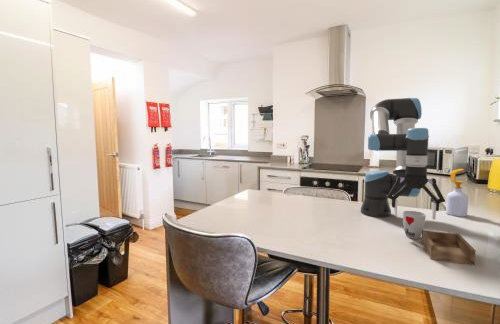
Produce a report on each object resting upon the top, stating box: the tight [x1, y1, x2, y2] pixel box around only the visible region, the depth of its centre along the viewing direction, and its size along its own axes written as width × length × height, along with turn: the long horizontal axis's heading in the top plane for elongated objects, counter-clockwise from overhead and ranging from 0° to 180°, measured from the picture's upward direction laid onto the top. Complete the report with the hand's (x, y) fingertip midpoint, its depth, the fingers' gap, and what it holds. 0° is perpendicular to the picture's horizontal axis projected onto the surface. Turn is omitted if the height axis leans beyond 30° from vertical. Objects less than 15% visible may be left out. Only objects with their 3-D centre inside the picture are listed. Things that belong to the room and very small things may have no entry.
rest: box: [421, 229, 476, 266], centre depth 97 cm, size 12×16×5 cm
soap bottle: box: [445, 168, 469, 217], centre depth 144 cm, size 9×9×25 cm
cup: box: [402, 210, 426, 240], centre depth 112 cm, size 8×8×10 cm
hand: (414, 217), depth 112 cm, fingers open, 13 cm apart
